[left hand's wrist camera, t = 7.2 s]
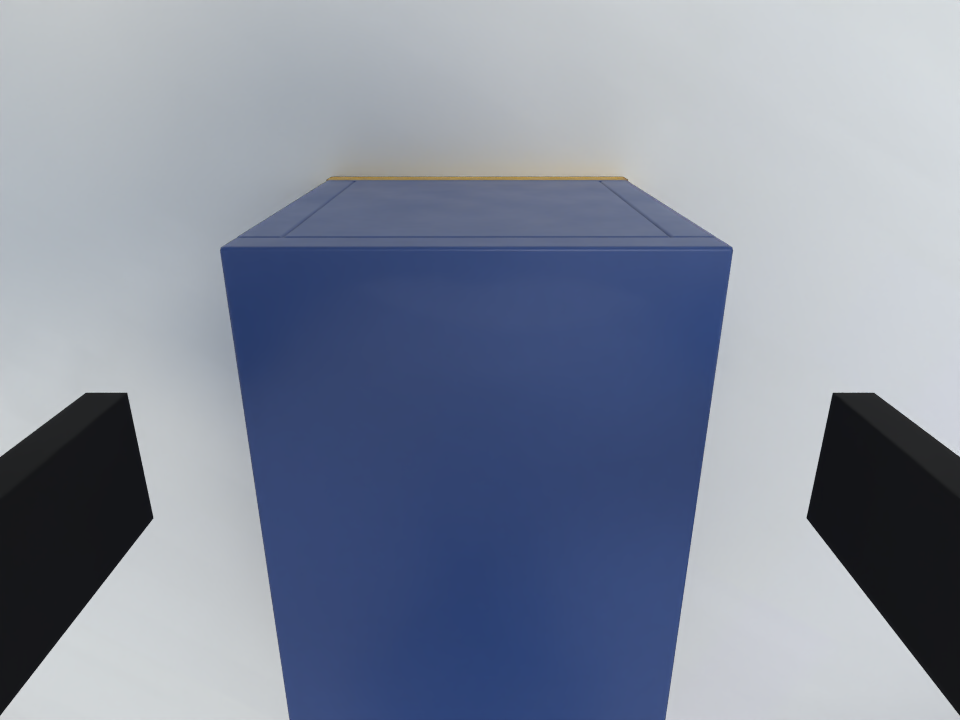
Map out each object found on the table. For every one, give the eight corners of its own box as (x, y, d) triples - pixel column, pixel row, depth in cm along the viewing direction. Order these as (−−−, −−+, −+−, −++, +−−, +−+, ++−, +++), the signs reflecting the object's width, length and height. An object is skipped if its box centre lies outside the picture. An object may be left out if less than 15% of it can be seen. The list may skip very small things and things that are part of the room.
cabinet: (592, 575, 32) (650, 828, 21) (363, 576, 32) (304, 829, 21) (623, 176, 25) (735, 246, 14) (331, 176, 25) (217, 247, 14)
